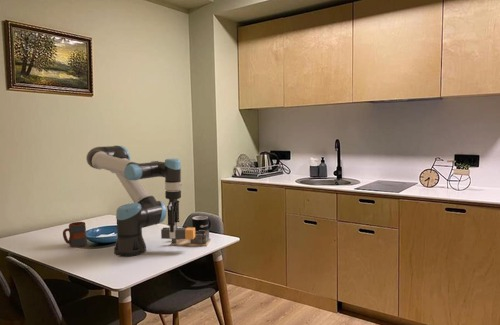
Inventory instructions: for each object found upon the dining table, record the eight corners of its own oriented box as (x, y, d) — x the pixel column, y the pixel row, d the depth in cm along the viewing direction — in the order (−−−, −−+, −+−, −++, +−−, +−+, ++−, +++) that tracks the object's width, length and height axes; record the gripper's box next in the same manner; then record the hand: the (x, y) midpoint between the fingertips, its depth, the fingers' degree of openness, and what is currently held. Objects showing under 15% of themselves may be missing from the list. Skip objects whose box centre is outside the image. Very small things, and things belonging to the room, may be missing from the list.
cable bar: (161, 238, 185) (160, 229, 184) (164, 236, 189) (163, 227, 189) (193, 239, 184) (193, 230, 183) (195, 236, 188) (195, 227, 188)
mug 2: (199, 238, 208) (198, 220, 207) (189, 235, 214) (188, 217, 213) (215, 233, 217) (215, 216, 216) (205, 231, 223) (205, 214, 222)
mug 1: (59, 247, 195) (58, 225, 194) (81, 241, 204) (80, 220, 203) (68, 250, 190) (66, 227, 189) (90, 244, 199) (89, 222, 198)
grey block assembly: (170, 245, 195) (170, 234, 195) (175, 240, 205) (175, 229, 205) (206, 246, 194) (206, 235, 193) (210, 240, 204) (210, 229, 203)
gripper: (176, 193, 176) (176, 242, 178) (184, 187, 192) (185, 231, 195) (160, 193, 176) (161, 241, 179) (170, 187, 193) (171, 231, 195)
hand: (173, 236), depth 187 cm, fingers closed on cable bar, 4 cm apart
